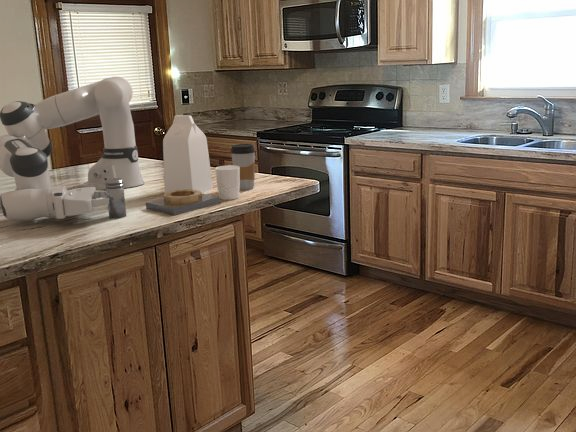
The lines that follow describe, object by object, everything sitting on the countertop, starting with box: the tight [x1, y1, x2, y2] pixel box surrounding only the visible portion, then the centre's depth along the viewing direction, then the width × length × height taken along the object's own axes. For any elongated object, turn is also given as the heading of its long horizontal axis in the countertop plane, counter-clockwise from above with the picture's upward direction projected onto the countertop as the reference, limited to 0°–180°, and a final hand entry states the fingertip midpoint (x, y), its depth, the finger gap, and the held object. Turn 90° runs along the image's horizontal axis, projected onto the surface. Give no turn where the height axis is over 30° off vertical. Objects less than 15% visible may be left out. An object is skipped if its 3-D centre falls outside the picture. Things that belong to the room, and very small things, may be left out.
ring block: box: [145, 189, 221, 216], centre depth 192 cm, size 18×14×4 cm
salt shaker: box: [105, 178, 127, 220], centre depth 182 cm, size 5×5×11 cm
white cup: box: [214, 164, 241, 201], centre depth 200 cm, size 8×8×10 cm
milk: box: [162, 114, 214, 194], centre depth 210 cm, size 12×12×26 cm
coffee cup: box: [230, 143, 256, 191], centre depth 213 cm, size 8×8×15 cm
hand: (110, 197), depth 181 cm, fingers open, 8 cm apart
